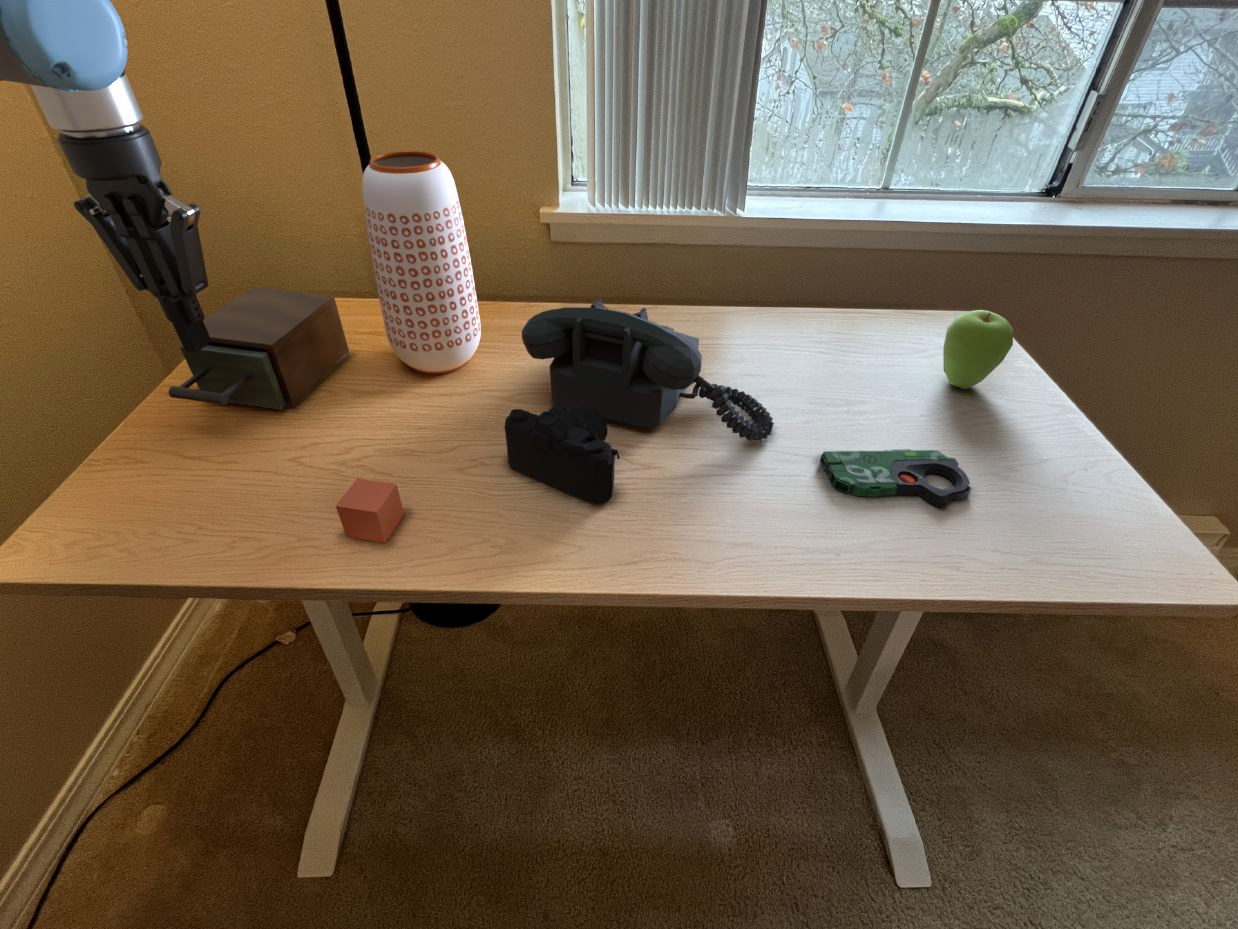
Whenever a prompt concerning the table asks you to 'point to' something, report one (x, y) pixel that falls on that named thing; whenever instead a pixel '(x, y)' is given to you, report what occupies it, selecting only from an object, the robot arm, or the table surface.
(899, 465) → the gun
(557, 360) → the rotary telephone
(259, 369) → the drawer
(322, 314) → the cabinet
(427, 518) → the table surface
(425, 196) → the white patterned cylinder
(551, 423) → the film camera
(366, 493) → the block
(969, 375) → the apple
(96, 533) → the table surface
